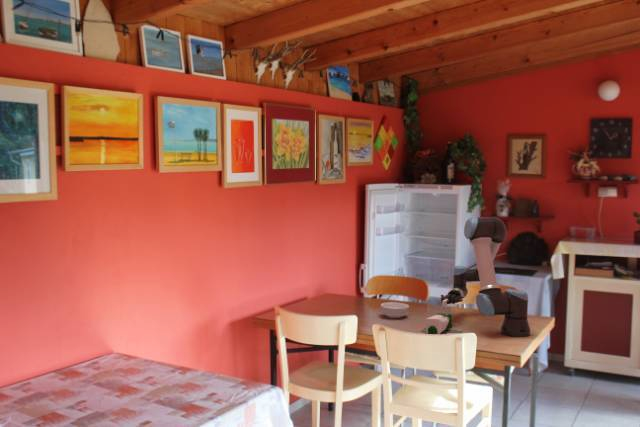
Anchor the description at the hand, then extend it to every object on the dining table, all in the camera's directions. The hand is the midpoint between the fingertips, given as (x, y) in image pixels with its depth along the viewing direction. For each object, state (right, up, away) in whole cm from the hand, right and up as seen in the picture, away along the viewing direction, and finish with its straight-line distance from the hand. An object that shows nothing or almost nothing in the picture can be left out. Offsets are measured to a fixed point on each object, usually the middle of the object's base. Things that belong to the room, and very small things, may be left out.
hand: (443, 303), depth 345 cm
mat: (-2, -14, -5) cm, 15 cm away
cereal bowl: (-23, -12, +28) cm, 39 cm away
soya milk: (+2, -9, +2) cm, 10 cm away
